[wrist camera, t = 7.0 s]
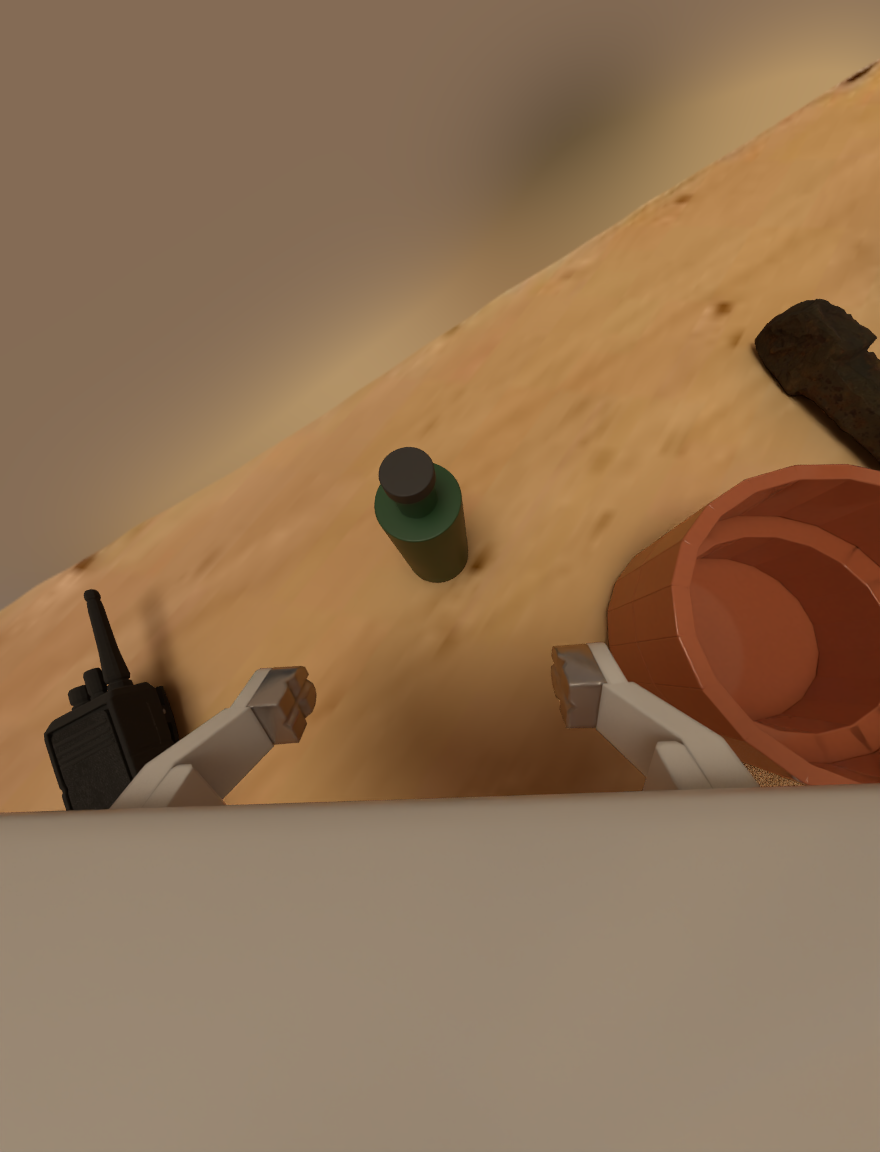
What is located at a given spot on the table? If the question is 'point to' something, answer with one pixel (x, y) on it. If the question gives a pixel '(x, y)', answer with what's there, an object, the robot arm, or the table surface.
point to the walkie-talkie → (107, 726)
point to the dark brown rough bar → (827, 365)
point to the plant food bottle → (422, 514)
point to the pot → (767, 621)
